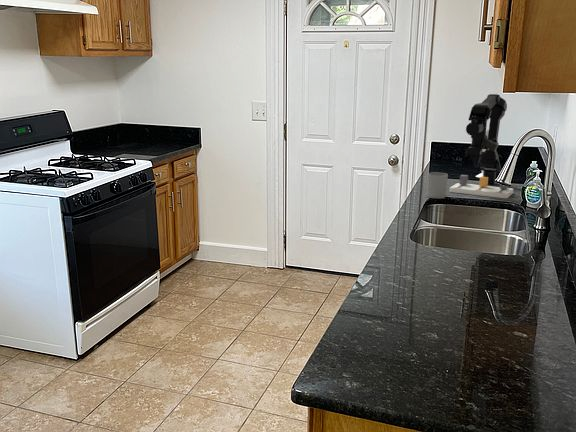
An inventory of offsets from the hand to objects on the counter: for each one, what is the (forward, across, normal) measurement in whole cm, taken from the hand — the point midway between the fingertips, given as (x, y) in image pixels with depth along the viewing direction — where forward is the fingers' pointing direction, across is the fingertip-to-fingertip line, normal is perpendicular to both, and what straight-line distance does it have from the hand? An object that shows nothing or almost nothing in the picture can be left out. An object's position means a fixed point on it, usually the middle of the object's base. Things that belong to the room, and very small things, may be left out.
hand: (476, 167), depth 251 cm
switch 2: (+9, +2, -12) cm, 15 cm away
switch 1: (+9, +2, +6) cm, 10 cm away
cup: (+11, -19, +12) cm, 25 cm away
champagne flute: (+12, +39, +5) cm, 41 cm away
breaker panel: (+11, -1, -3) cm, 11 cm away
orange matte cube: (+9, +2, -3) cm, 9 cm away
